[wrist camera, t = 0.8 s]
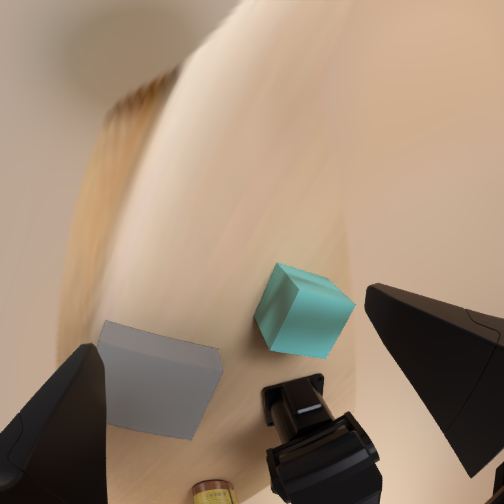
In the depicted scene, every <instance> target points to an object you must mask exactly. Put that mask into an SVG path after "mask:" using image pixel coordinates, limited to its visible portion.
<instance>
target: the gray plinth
mask: <svg viewBox="0 0 504 504" xmlns="http://www.w3.org/2000/svg"><path fill="white" fill-rule="evenodd" d="M97 351H98V353H99V355H100V357H101V359H102V361H103V363H104V366H105V385H106V404H107V420H106V424H109V425H113V426H117V427H122V428H126V429H130V430H135V431H140V432H145V433H150V434H155V435H161V436H167V437H173V438H179V439H187V440H192V438H193V436H194V434H195V432H196V430H197V428H198V426H199V423H200V421H201V419H202V417H203V415H204V413H205V410H206V408H207V406H208V404H209V402H210V399H211V397H212V395H213V393H214V391H215V388H216V386H217V384H218V382H219V380H220V377H221V375H222V373H223V367H222V362H221V358H220V353H219V349H217V348H212V347H207V346H203V345H198V344H194V343H189V342H185V341H181V340H176V339H172V338H168V337H164V336H160V335H156V334H153V333H149V332H145V331H141V330H138V329H134V328H131V327H127V326H124V325H120V324H117V323H113V322H110V321H107V320H106V321H105V324H104V327H103V329H102V332H101V335H100V338H99V341H98V348H97Z"/></svg>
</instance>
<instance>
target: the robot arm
mask: <svg viewBox="0 0 504 504" xmlns="http://www.w3.org/2000/svg"><path fill="white" fill-rule="evenodd" d="M364 306H365V311H366V314H367V315H368V317H369V319H370V321H371V322H372V324H373V326H374V328H375V329H376V331H377V333H378V335H379V336H380V338H381V340H382V342H383V344H384V345H385V347H386V348H387V350H388V351H389V353H390V354H391V355H392V357H393V358H394V360H395V361H396V362H397V364H398V365H399V367H400V368H401V370H402V371H403V373H404V374H405V376H406V377H407V379H408V380H409V381H410V383H411V384H412V386H413V387H414V389H415V390H416V392H417V393H418V395H419V396H420V398H421V400H422V401H423V402H424V404H425V406H426V407H427V409H428V410H429V412H430V413H431V415H432V416H433V418H434V419H435V421H436V423H437V424H438V426H439V427H440V429H441V431H442V432H443V433H444V436H445V437H446V439H447V440H448V442H449V444H450V445H451V447H452V448H453V450H454V452H455V453H456V455H457V457H458V458H459V460H460V462H461V463H462V465H463V467H464V468H465V470H466V472H467V474H468V475H469V477H470V478H472V477H474V476H475V475H476V474H477V473H478V472H479V471H480V470H482V469H483V468H484V467H485V466H486V465H487V464H488V463H489V462H491V461H492V460H493V459H494V458H495V457H496V456H497V455H498V454H499V453H500V452H501V451H502V450H503V449H504V319H503V318H498V317H495V316H490V315H486V314H482V313H479V312H476V311H472V310H469V309H464V308H462V307H458V306H455V305H452V304H448V303H445V302H442V301H438V300H435V299H432V298H428V297H425V296H422V295H418V294H415V293H411V292H408V291H404V290H401V289H397V288H394V287H390V286H388V285H384V284H381V283H375V284H372V285H369V286H368V287H367V290H366V298H365V305H364ZM323 386H324V376H323V374H321V373H319V374H315V375H312V376H308V377H305V378H301V379H297V380H294V381H290V382H286V383H282V384H278V385H274V386H269V387H266V388H264V390H263V397H264V407H265V418H266V424H267V426H275V427H276V430H277V432H278V435H279V437H280V440H281V442H282V445H280V446H277V447H275V448H270V449H268V450H266V452H267V457H266V458H267V460H266V461H267V464H268V468H269V472H270V477H271V490H272V492H273V493H275V494H278V495H279V496H280V497H281V498H282V499H283V501H284V502H285V503H287V504H288V503H291V504H380V496H381V492H382V475H381V473H380V471H379V470H378V468H377V466H376V464H375V463H376V462H378V461H379V460H380V459H379V455H378V453H377V450H376V448H375V447H374V444H373V443H372V441H371V439H370V438H369V436H368V435H367V434H366V432H365V431H364V430H363V428H362V427H361V426H360V424H359V423H358V422H357V421H356V419H355V418H354V417H353V415H352V414H351V413H350V412H349V411H348V412H346V413H344V415H343V416H341V417H339V418H337V419H335V418H334V416H333V415H332V413H331V411H330V410H329V408H328V406H327V405H326V403H325V401H324V399H323V398H322V396H323ZM268 391H269V392H268ZM106 420H107V404H106V385H105V366H104V363H103V361H102V359H101V357H100V355H99V353H98V351H97V348H96V347H95V345H94V344H93V343H88V344H82V345H80V346H79V347H78V348H77V349H76V350H75V351H74V352H73V354H72V355H71V356H70V357H69V358H68V359H67V360H66V361H65V362H64V363H63V364H62V365H61V366H60V367H59V368H58V369H57V371H56V372H55V373H54V374H53V375H52V376H51V377H50V378H49V379H48V380H47V381H46V382H45V384H44V385H43V386H42V387H41V388H40V389H39V390H38V391H37V392H36V393H35V395H34V396H33V397H32V398H31V399H30V400H29V401H28V402H27V404H26V405H25V406H24V407H23V408H22V409H21V411H20V413H18V414H17V415H16V416H15V417H14V419H13V420H12V421H11V422H10V423H9V424H8V425H7V427H6V428H5V429H4V430H3V431H2V432H1V433H0V504H108V499H107V480H106ZM485 504H504V462H503V463H502V464H501V465H500V466H499V467H498V468H497V469H496V474H495V482H494V489H493V496H492V497H491V498H490V499H489V500H488V501H487V502H486V503H485Z"/></svg>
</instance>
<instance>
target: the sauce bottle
mask: <svg viewBox="0 0 504 504" xmlns="http://www.w3.org/2000/svg"><path fill="white" fill-rule="evenodd" d="M193 500H194V504H238V501H237V497H236V494H235V491H234V490H233V486H232V485H231V484H230V483H228V482H226V481H220V480H212V481H205V482H202V483H199V484H198V485H196V486H194V488H193Z"/></svg>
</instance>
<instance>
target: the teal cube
mask: <svg viewBox="0 0 504 504" xmlns="http://www.w3.org/2000/svg"><path fill="white" fill-rule="evenodd" d="M355 305H356V304H355V303H354V302H352V301H351V300H350V299H349V298H348V297H347V296H346V295H345V294H344V293H343V292H342V291H341V290H340V289H338V288H337V287H336V286H335V285H334V284H333V283H332V282H331V281H330V280H329V279H328V278H325V277H322V276H319V275H315V274H312V273H309V272H306V271H303V270H299V269H296V268H293V267H290V266H286V265H283V264H280V263H277V264H276V266H275V268H274V271H273V273H272V275H271V278H270V280H269V282H268V285H267V287H266V289H265V291H264V294H263V296H262V298H261V301H260V303H259V305H258V307H257V310H256V312H255V314H254V317H255V320H256V322H257V324H258V326H259V328H260V331H261V333H262V335H263V337H264V339H265V341H266V344H267V346H268V348H269V350H270V351H276V352H282V353H288V354H295V355H301V356H308V357H316V358H323V359H326V357H327V356H328V354H329V352H330V351H331V349H332V347H333V345H334V344H335V342H336V340H337V338H338V337H339V335H340V333H341V331H342V329H343V328H344V326H345V324H346V322H347V320H348V318H349V316H350V315H351V313H352V311H353V309H354V307H355Z"/></svg>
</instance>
